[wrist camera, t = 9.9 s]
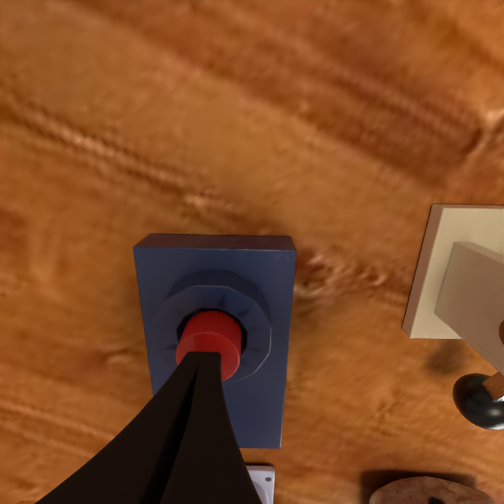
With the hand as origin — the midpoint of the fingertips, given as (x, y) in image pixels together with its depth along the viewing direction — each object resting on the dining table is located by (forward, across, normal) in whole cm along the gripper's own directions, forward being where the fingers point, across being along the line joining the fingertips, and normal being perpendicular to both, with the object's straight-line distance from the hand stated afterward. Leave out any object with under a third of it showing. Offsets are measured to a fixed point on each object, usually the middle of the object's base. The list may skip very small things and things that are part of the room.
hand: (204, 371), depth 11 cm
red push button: (+2, 0, 0) cm, 2 cm away
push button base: (+6, 0, +3) cm, 7 cm away
